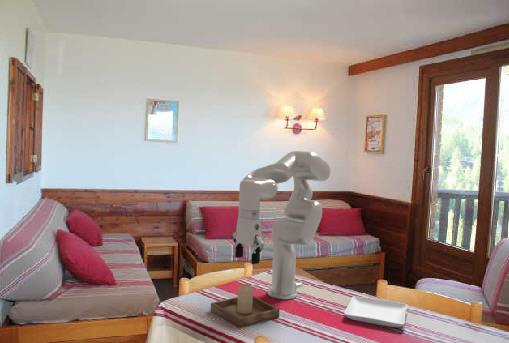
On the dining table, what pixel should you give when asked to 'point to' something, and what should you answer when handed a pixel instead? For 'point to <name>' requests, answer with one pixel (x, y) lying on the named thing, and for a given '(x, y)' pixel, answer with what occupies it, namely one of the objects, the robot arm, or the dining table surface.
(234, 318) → the walnut tray
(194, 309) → the dining table surface
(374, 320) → the salad plate
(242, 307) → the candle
